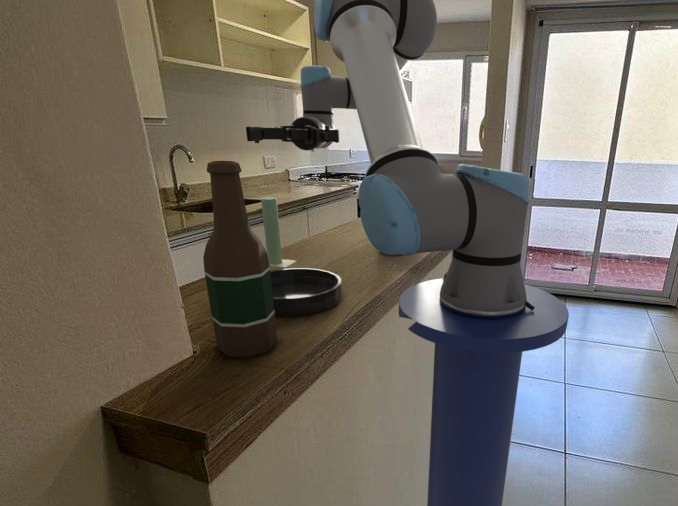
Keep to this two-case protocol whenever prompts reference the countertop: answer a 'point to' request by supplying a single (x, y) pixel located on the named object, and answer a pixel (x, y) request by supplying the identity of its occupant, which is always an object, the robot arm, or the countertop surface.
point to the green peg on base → (274, 236)
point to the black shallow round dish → (304, 291)
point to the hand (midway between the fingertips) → (281, 135)
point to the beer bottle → (237, 271)
